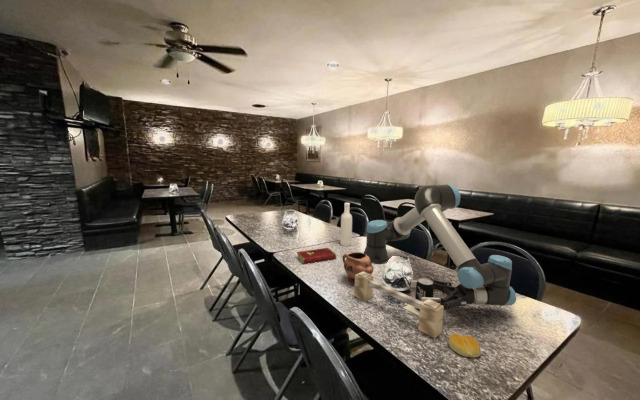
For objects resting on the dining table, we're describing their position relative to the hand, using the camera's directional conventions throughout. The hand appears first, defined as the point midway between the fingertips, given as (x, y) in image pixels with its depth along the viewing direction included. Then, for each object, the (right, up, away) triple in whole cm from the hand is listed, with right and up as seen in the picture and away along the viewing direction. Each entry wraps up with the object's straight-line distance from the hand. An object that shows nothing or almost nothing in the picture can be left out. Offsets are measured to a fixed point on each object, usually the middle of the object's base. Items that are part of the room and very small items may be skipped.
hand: (416, 291), depth 103 cm
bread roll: (+8, -11, -20) cm, 25 cm away
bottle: (-20, +5, +79) cm, 82 cm away
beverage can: (+3, -7, +1) cm, 8 cm away
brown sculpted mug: (-21, -4, +25) cm, 33 cm away
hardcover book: (-41, +1, +53) cm, 67 cm away
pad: (+3, -7, +1) cm, 8 cm away
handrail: (-10, -8, -1) cm, 12 cm away
